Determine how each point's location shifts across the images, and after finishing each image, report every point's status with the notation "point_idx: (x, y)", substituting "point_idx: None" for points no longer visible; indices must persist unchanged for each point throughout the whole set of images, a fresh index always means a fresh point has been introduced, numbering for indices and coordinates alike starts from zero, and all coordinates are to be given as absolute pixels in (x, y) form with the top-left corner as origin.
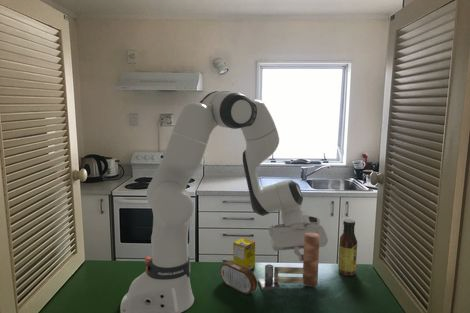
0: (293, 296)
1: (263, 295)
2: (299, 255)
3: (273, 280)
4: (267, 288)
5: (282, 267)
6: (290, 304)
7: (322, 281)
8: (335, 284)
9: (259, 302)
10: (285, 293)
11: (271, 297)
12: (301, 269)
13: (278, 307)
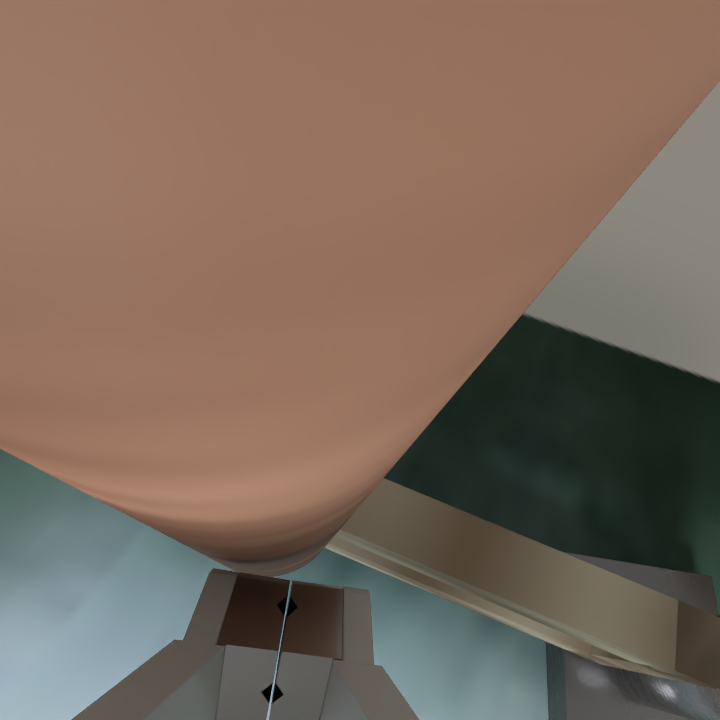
0: (468, 422)
1: (683, 511)
2: (369, 670)
3: (597, 679)
4: (660, 570)
5: (613, 632)
6: (521, 350)
7: (88, 554)
8: (16, 460)
9: (716, 438)
10: (514, 480)
11: (629, 466)
12: (387, 489)
13: (603, 350)
